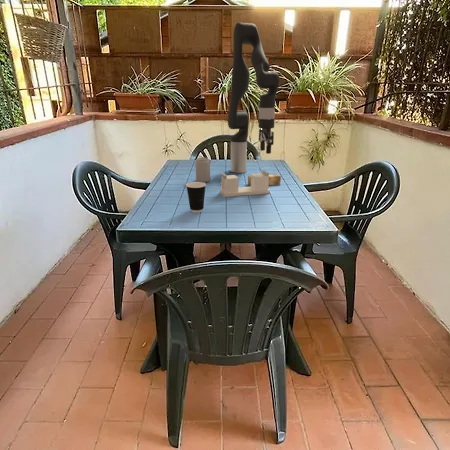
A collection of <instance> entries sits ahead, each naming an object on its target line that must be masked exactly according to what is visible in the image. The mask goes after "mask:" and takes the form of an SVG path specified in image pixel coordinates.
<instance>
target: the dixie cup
mask: <svg viewBox="0 0 450 450" xmlns="http://www.w3.org/2000/svg"><path fill="white" fill-rule="evenodd" d="M185 186H186V190H187V191H186V192H187V197H188V203H189V210H190V211H191V212H192V213H194V214H195V213H197V214H198V213H202V212H203V210H204V205H205V195H206V186H207V183H206V182H198V181H190V182H187V183H185Z"/></svg>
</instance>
